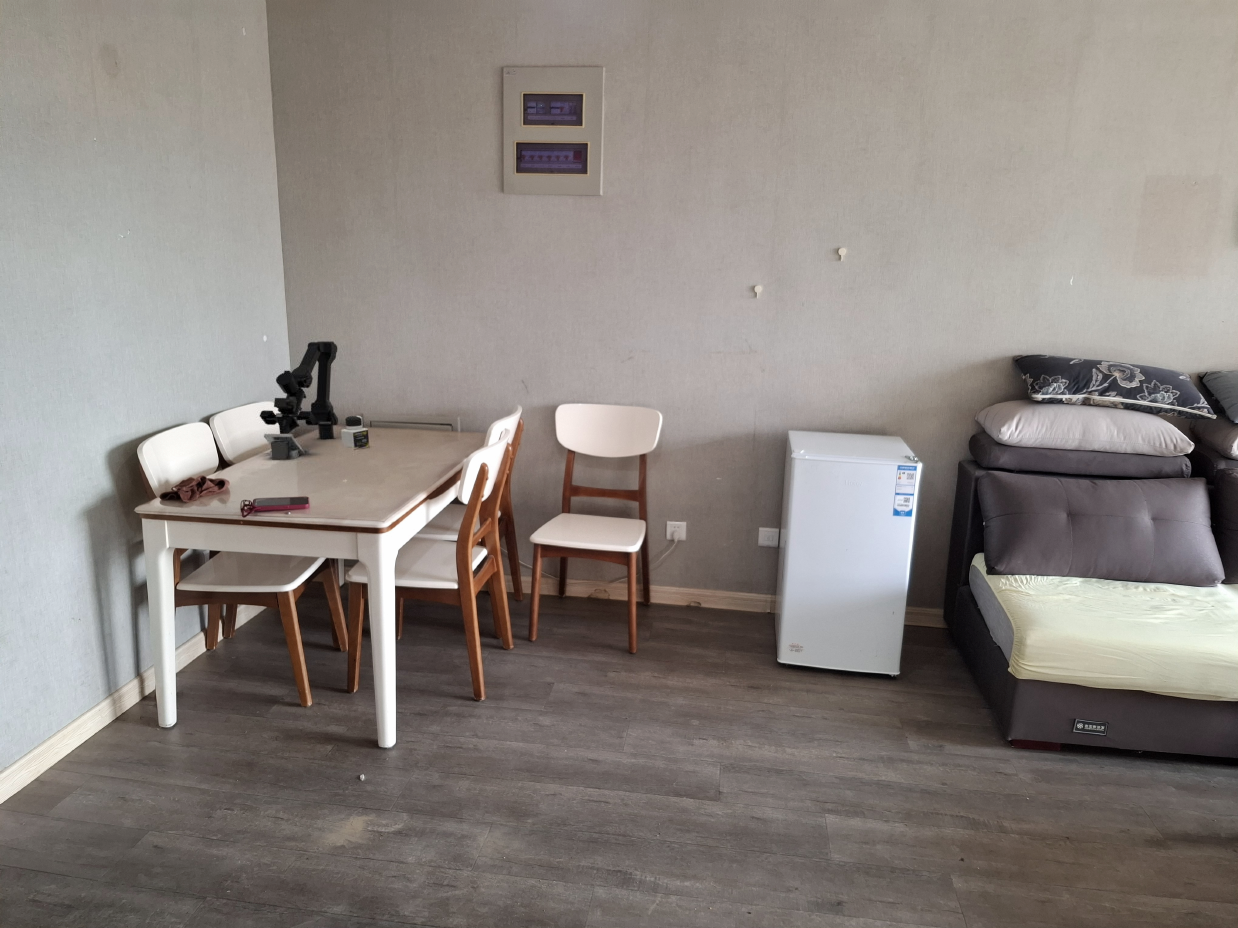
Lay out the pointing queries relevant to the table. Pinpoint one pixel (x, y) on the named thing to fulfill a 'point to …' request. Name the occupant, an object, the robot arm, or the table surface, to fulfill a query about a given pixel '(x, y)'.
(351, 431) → the medicine bottle
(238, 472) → the table surface
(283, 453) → the heat sink
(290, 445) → the gray rectangular panel
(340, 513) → the table surface
